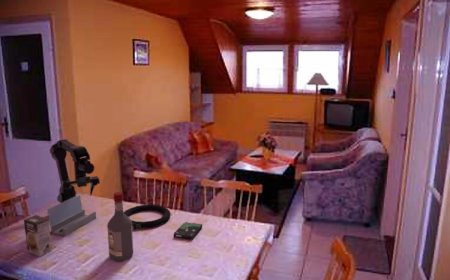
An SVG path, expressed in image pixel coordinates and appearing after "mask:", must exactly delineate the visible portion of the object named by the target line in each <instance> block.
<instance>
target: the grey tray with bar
mask: <svg viewBox="0 0 450 280" xmlns="http://www.w3.org/2000/svg"><path fill="white" fill-rule="evenodd" d="M96 219H97V212H96V211H92V212H91V213H88V214H86V212H85V209H82V210H81V211H79V212H77V213H75V214H73V215H72V216H70V217H68V218H66V219H64V220H62V221H60V222H58V223H56V224H54V225H52V226H50V235H51V234H52V235H57V236H62V237H67V236H69V235H70V234H72V233H73V232H76V231H77V230H79V229H80V228H83V227H84V226H86V225H88V224H89V223H91V222H93V221H94V220H96Z"/></svg>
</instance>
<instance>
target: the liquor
mask: <svg viewBox="0 0 450 280" xmlns="http://www.w3.org/2000/svg"><path fill="white" fill-rule="evenodd" d="M123 195H124V194H123V192H121V191H120V192H119V191H117V192H114V193H113V201H114V215H113V216H112V217H111V218H110V219H109V220H108V222H107V227H106V228H107V242H108V254H109V255H108V256H109V258H110V259H112V260H113V261H115V262H116V263H120V262H121V263H122V262H125V261H126V260H129V259H131V258H133V256H134V239H133V237H134V236H133V231H132V221H133V220H132V219H131V218H130V217H129V216H128V217H127V216H126V215H125V214H124V212H125V211H124V206H123V205H124V201H123V200H124V198H123ZM131 220H132V221H131Z"/></svg>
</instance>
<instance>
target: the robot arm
mask: <svg viewBox="0 0 450 280" xmlns="http://www.w3.org/2000/svg"><path fill="white" fill-rule="evenodd" d="M49 153H50V154H51V155H50V156H51V158H52V159H53V160H55V162H56V168H57V172H58V173H57V174H58V176H59V182H60V188H58V192H59V193H58V195H57V197H56V199H57V200H56V201H57V202H58V203H59V204H60V203H62V202H64V201H66V200H69V199H71V198H73V197H75V196H77V192H76V188H75V186H74V185H77V188H81V187H82V188H83V187H85V188H86V187H87V186H88V185H89V195H90V196H92V195H93V191H94V188H95V186H98V185H99V184H101V182H100V178H99V176H98V175H97V176H95V175H94V176H87V175H90V174H92V173H93V172H94V171H95V166H94V164H93V163H91V155H90V154H89V152H88V150H87V148H86V147H85V146H84V145H83V146H82V145H75V144H74V143H72V142H70V141H69V140H68V139H66V138H65V139H59V140H57V141H56V142H55V143H54V144H52V145H51V146H50V148H49ZM67 153H69V154H70V157H71V158H72V162H73V167H74V168H73V169H74V180H72V181H71V180H70V178H69V172H68V169H67V163H66V157H67V155H68V154H67Z"/></svg>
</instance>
